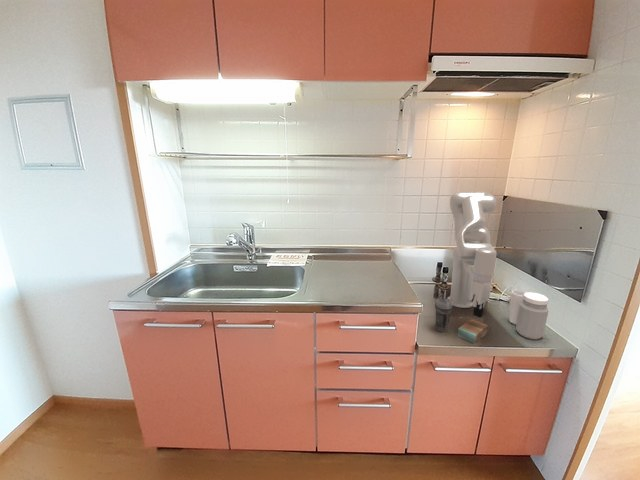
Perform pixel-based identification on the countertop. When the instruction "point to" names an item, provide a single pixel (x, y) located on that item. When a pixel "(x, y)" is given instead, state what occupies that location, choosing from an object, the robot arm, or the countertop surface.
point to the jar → (532, 315)
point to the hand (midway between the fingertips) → (477, 315)
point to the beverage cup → (443, 313)
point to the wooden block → (472, 330)
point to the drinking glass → (515, 305)
